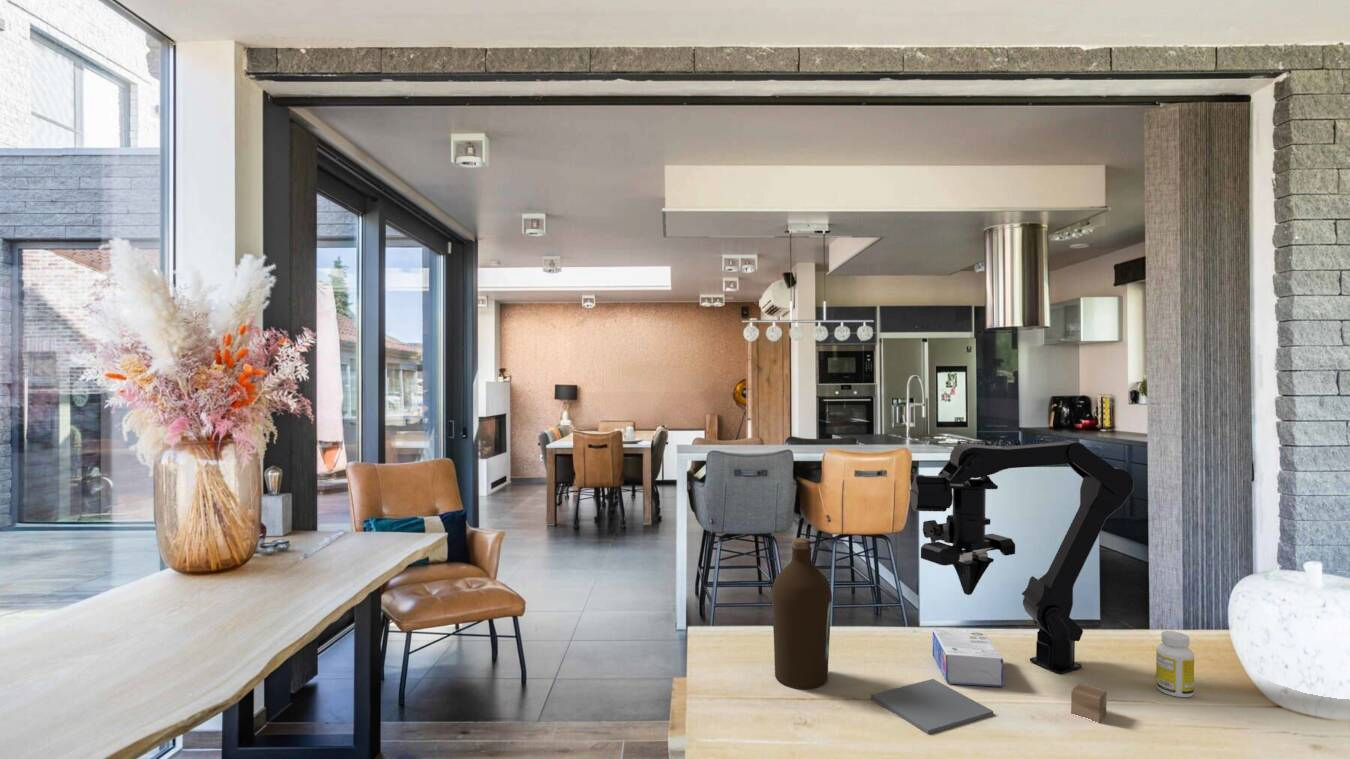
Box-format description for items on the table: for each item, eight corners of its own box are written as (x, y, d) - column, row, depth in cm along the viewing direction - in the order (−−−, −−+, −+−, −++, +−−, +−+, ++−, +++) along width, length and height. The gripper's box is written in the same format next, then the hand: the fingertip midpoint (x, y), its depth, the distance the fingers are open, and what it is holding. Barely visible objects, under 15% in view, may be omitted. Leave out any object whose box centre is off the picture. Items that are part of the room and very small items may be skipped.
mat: (933, 682, 129) (933, 678, 129) (993, 714, 118) (993, 711, 118) (870, 698, 123) (870, 694, 123) (927, 734, 112) (927, 730, 112)
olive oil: (776, 691, 126) (777, 548, 125) (767, 665, 136) (767, 532, 136) (838, 690, 126) (839, 547, 125) (823, 664, 137) (824, 532, 136)
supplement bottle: (1189, 687, 127) (1191, 632, 127) (1197, 701, 122) (1198, 643, 122) (1153, 681, 129) (1154, 627, 129) (1158, 694, 125) (1159, 638, 124)
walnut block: (1079, 706, 121) (1079, 682, 120) (1106, 715, 118) (1106, 690, 118) (1071, 714, 118) (1071, 690, 118) (1098, 723, 115) (1099, 698, 115)
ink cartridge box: (1004, 689, 127) (982, 653, 141) (1005, 658, 127) (983, 626, 141) (944, 685, 128) (928, 650, 143) (945, 654, 128) (929, 622, 142)
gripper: (971, 499, 148) (970, 576, 148) (900, 508, 140) (899, 588, 141) (1017, 510, 138) (1016, 592, 138) (944, 520, 130) (943, 606, 130)
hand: (967, 594), depth 137 cm, fingers closed
